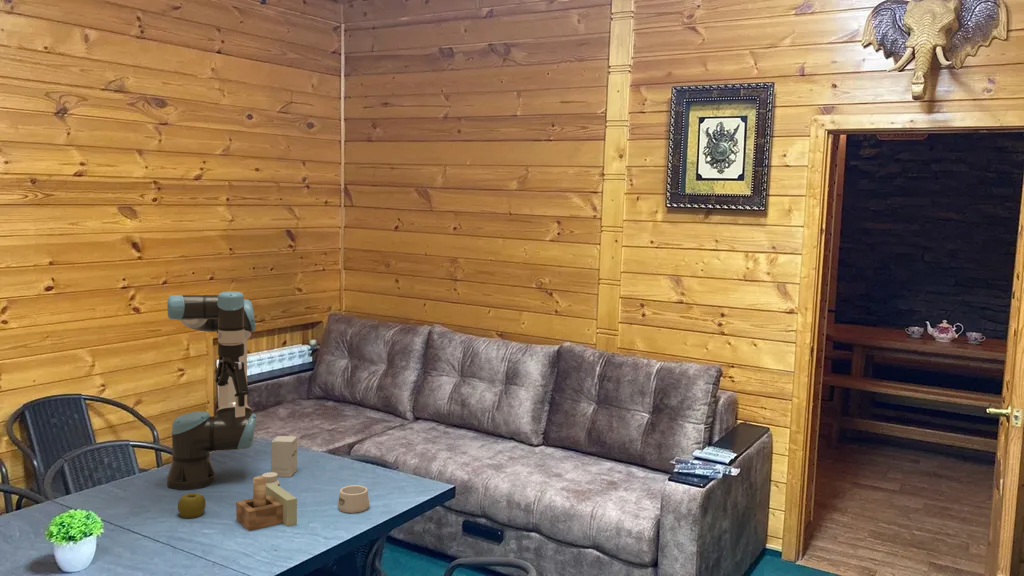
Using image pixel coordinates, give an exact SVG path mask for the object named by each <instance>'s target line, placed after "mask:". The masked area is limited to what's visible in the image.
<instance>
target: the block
mask: <svg viewBox="0 0 1024 576" xmlns="http://www.w3.org/2000/svg"><path fill="white" fill-rule="evenodd" d="M235 506H236V507H235V516H236V518H235V519H236V520H235V521H237V522H239V524H241V525H242V527H244V528H245V529H246V530H248V531H249V532H251V531H254V530H258V529H259V530H260V529H263V528H267V527H271V526H276V525H280V524H283V505H282V504H281V503H280V502H278V501H277V500H275V499H274V498H273V497H271V496H270V495H266V505H265V506H261V507H256V508H253V497H252V498H248V499H244V500H239V501H236V504H235Z"/></svg>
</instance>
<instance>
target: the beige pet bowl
mask: <svg viewBox="0 0 1024 576" xmlns="http://www.w3.org/2000/svg"><path fill="white" fill-rule="evenodd" d="M337 501H338V502H337V508H338V510H339V511H340V512H342V513H346V514H357V513H358V514H359V513H362V512H365V511H366V510H368V508H369V507H370V499H369V489H368V488H367V487H366V486H364V485H358V484H356V485H355V484H353V485H347V486H343V487H341V488H340V489H339V493H338V500H337Z"/></svg>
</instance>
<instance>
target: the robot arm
mask: <svg viewBox="0 0 1024 576" xmlns="http://www.w3.org/2000/svg"><path fill="white" fill-rule="evenodd" d="M167 318H168V319H170V320H177V321H180V323H181V324H182V325H183V326H184V327H187V328H189V329H192V330H195V331H201V332H205V333H207V332H208V333H209V332H211V333H213V332H214V333H215V332H216V337H217V342H218V344H217V355H218V363H217V369H216V373H215V379H214V382H215V383H216V384H217V387H218V389H217V390H218V391H217V393H218V396H217V397H218V401H217V403H218V408H217V409H216V412H215V413H216V414H215V415H214V416H211V415H210V413H209V412H208V411H203V410H202V411H200V410H199V411H193V412H187V413H184V414H181V415H179V416H177V417H176V418H174V419H173V421H172V424H171V425H172V426H171V427H172V428H171V437H172V439H171V441H172V442H171V445H172V449H171V450H172V451H171V453H172V454H171V457H172V460H171V465H170V467H169V468H170V469H169V470H168V473H167V478H166V485H167V487H169V488H171V489H173V490H196V489H201V488H205V487H208V486H210V485H212V484H213V483H215V481H216V473H215V470H214V467H213V463H212V461H211V457H210V452H217V451H218V452H219V451H232V450H233V451H235V450H237V451H240V450H242V449H243V450H245V449H250V448H251V447H252V446H253V444H254V438H255V432H256V431H255V429H256V420H257V414H256V413H253V408H251V407H250V406H249V405H248V395H249V389H248V388H249V387H248V340H249V339H250V337H251V336H252V332H255V331H256V321H255V312H254V307H253V303H252V301H251V300H250V299H247V298H246V299H245V297H244V293H243V292H239V291H223V292H219V293H218V294H203V295H202V294H184V295H183V294H175V295H174V294H173V295H172V294H171V295H169V296H168V298H167Z"/></svg>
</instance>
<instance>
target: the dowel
mask: <svg viewBox="0 0 1024 576" xmlns="http://www.w3.org/2000/svg"><path fill="white" fill-rule="evenodd" d="M252 481H253V482H252V483H253V488H252V489H253V490H252V492H253V493H252V495H253V496H252V498H253V508H256V507H261V506H265V505H266V477H264V476H262V475H259V476H255V477H253V480H252Z"/></svg>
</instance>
